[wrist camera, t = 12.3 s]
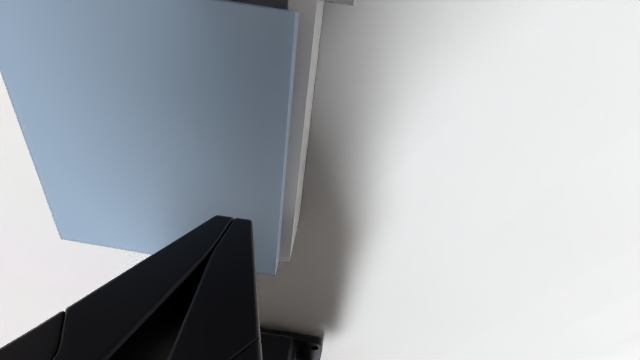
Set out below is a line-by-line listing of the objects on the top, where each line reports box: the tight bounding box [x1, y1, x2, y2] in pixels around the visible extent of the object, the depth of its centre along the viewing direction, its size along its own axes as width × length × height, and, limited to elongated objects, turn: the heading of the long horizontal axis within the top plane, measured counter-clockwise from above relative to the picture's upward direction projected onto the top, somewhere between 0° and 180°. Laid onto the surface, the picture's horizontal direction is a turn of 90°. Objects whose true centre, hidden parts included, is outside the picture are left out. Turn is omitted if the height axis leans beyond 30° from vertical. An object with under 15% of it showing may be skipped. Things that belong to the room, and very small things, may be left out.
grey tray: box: [225, 0, 354, 263], centre depth 11 cm, size 19×12×3 cm, turn 173°
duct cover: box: [0, 0, 299, 276], centre depth 11 cm, size 9×9×1 cm
